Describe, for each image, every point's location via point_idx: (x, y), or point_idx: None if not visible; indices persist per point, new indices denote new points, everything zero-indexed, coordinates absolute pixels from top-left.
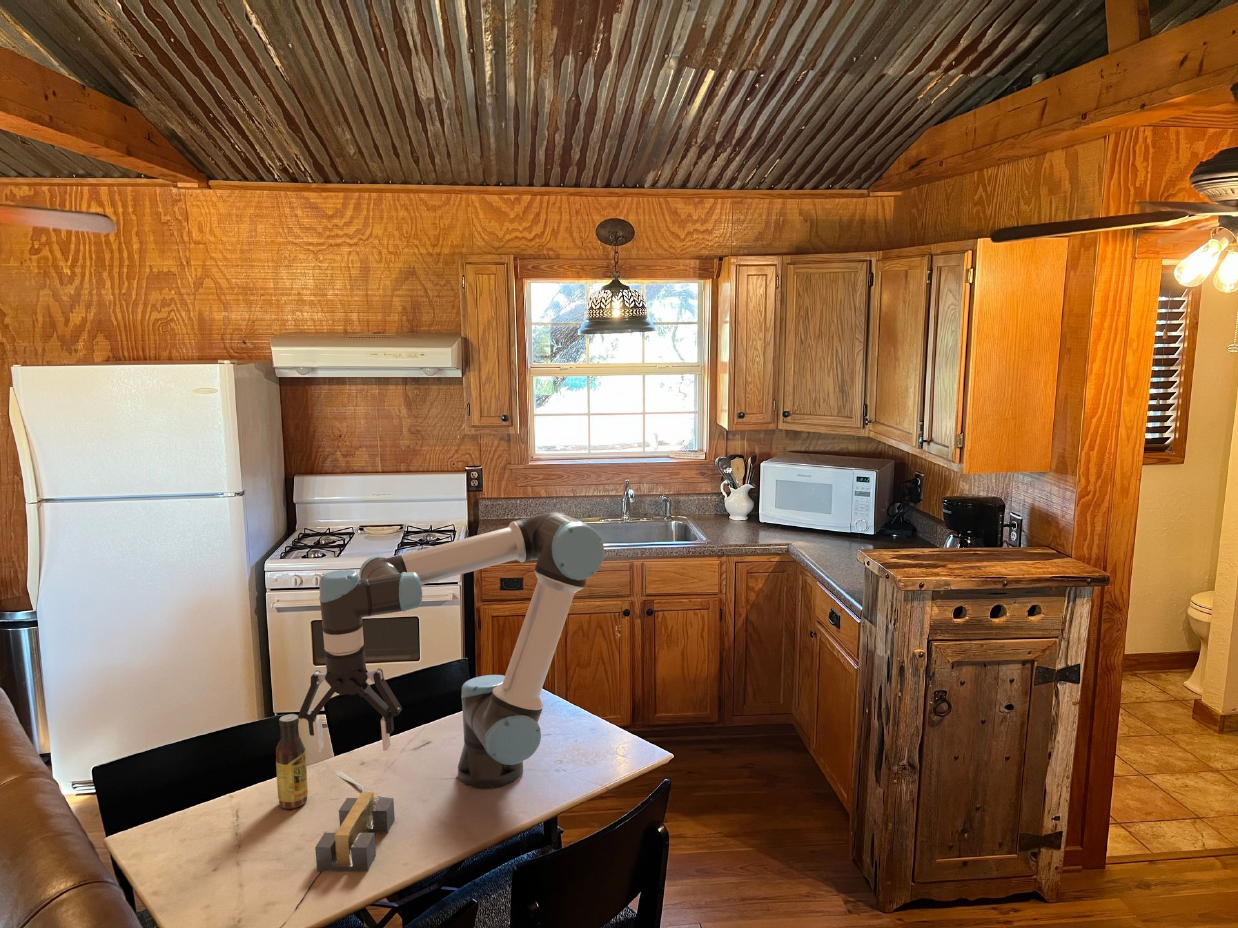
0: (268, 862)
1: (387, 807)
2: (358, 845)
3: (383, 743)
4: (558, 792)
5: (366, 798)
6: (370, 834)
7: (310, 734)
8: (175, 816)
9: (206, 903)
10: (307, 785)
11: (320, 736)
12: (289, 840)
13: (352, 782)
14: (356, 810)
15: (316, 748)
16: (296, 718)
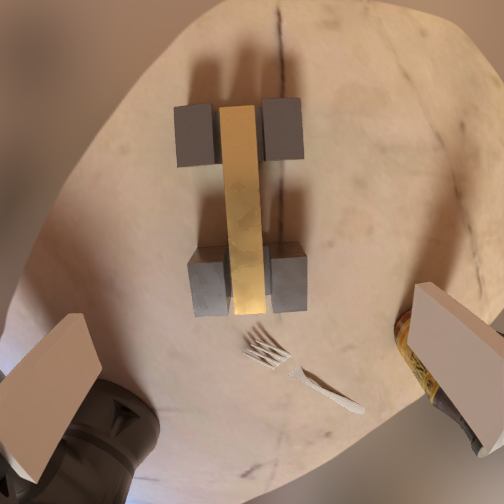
0: (395, 138)
1: (191, 277)
2: (195, 112)
3: (61, 332)
4: (14, 358)
5: (240, 283)
6: (184, 159)
7: (499, 333)
8: None
9: (428, 40)
10: (402, 352)
11: (446, 350)
12: (387, 210)
13: (329, 391)
14: (243, 225)
15: (437, 290)
16: (483, 447)
